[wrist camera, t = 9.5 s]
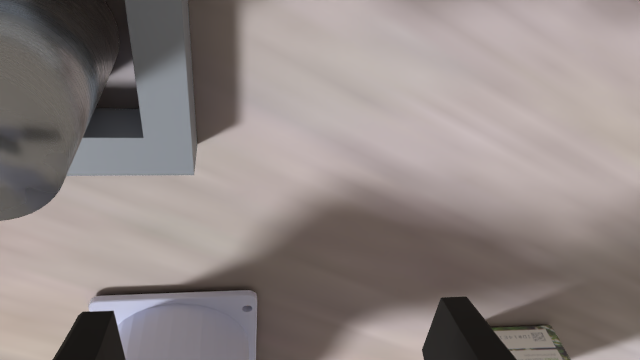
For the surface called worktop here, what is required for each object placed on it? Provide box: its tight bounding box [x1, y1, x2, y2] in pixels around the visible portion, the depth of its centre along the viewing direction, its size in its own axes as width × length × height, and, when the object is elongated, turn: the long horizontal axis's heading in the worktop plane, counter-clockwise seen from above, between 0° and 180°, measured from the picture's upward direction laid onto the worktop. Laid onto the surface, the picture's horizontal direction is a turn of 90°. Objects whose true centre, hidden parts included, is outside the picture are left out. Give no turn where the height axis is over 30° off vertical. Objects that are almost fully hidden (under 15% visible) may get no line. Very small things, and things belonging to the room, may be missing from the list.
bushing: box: [0, 0, 119, 221], centre depth 14 cm, size 4×4×7 cm
